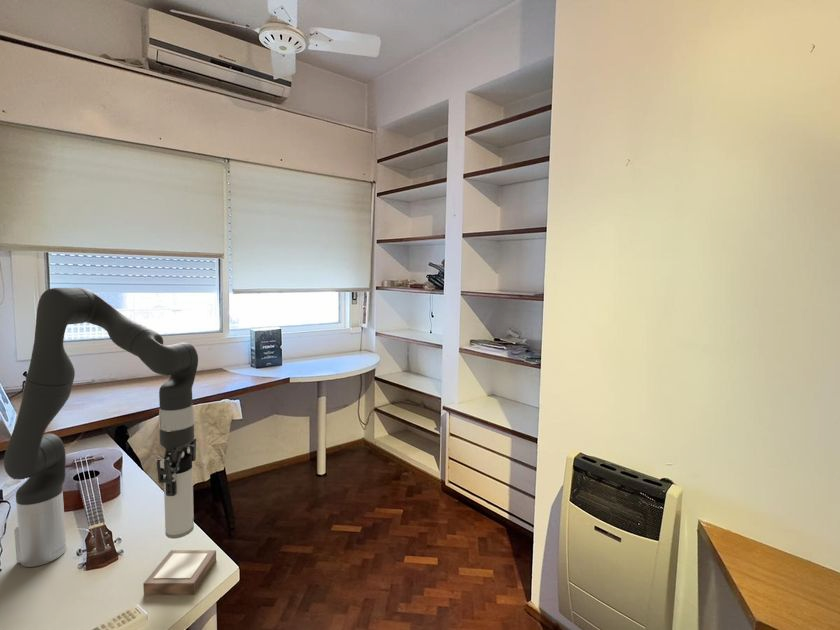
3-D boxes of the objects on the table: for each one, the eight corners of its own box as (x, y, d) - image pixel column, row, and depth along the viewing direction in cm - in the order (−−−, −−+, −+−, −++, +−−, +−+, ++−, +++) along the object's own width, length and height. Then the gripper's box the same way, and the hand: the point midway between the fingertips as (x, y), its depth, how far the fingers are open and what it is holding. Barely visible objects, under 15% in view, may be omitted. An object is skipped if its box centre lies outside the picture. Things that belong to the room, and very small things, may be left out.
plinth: (143, 594, 101) (143, 582, 101) (171, 560, 113) (170, 549, 112) (194, 594, 101) (193, 582, 101) (216, 560, 113) (216, 549, 113)
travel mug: (200, 525, 108) (199, 452, 106) (179, 541, 102) (177, 463, 100) (181, 521, 110) (179, 448, 108) (159, 536, 104) (157, 459, 102)
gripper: (177, 413, 110) (179, 474, 112) (143, 434, 96) (145, 503, 97) (206, 414, 110) (207, 474, 112) (176, 435, 96) (178, 504, 98)
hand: (178, 487), depth 105 cm, fingers closed on travel mug, 6 cm apart
